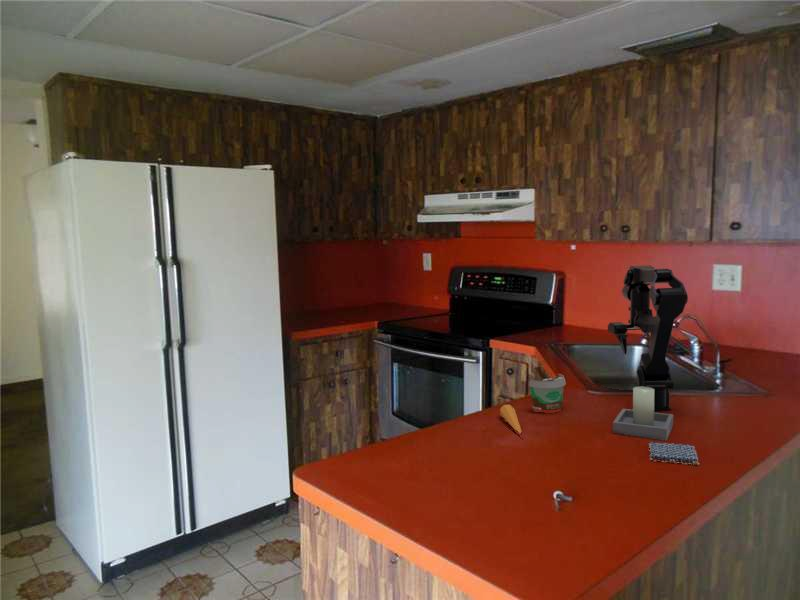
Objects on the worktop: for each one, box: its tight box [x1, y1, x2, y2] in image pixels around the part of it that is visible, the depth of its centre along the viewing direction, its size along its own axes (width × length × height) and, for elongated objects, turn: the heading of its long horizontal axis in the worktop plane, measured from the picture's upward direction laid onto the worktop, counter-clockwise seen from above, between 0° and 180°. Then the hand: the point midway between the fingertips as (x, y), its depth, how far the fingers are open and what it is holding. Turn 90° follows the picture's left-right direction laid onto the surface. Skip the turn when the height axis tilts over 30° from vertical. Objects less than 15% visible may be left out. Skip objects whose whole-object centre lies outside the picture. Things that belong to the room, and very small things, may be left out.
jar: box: [632, 386, 655, 426], centre depth 156 cm, size 5×5×10 cm
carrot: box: [499, 404, 522, 433], centre depth 162 cm, size 20×4×4 cm, turn 3°
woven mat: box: [647, 440, 700, 466], centre depth 139 cm, size 10×11×2 cm
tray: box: [612, 408, 674, 442], centre depth 157 cm, size 13×13×3 cm
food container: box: [528, 373, 567, 410], centre depth 175 cm, size 12×6×10 cm, turn 117°
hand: (638, 353), depth 188 cm, fingers open, 9 cm apart
